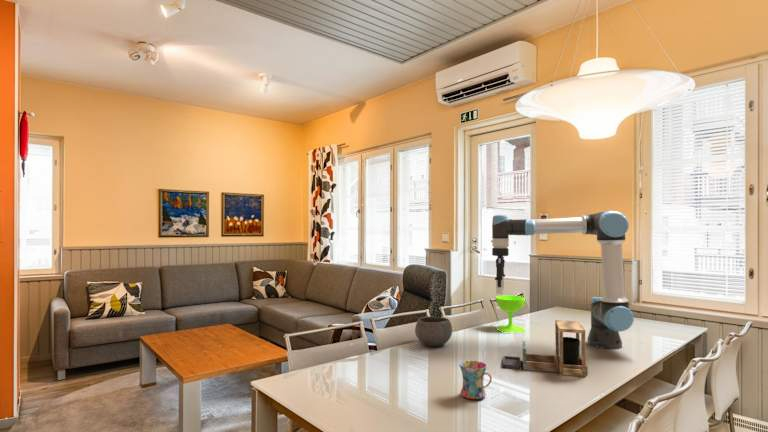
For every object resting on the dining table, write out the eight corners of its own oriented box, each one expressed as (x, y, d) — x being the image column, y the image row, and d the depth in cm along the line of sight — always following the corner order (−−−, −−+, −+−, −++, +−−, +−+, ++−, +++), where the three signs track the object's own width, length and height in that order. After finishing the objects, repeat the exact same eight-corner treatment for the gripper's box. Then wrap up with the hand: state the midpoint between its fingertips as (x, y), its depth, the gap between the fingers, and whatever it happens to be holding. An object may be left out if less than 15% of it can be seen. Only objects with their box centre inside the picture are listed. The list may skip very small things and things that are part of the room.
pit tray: (520, 360, 184) (520, 357, 184) (520, 369, 172) (520, 365, 172) (503, 359, 186) (503, 355, 186) (502, 367, 174) (502, 364, 174)
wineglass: (494, 326, 248) (494, 295, 248) (522, 327, 245) (522, 295, 246) (497, 333, 232) (497, 299, 232) (528, 334, 230) (527, 300, 230)
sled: (582, 365, 177) (582, 345, 177) (587, 374, 165) (587, 353, 166) (522, 360, 184) (522, 341, 184) (523, 368, 172) (523, 348, 172)
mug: (453, 395, 146) (453, 364, 146) (470, 388, 152) (470, 358, 152) (482, 406, 136) (482, 373, 137) (499, 399, 142) (499, 367, 143)
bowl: (410, 347, 204) (410, 320, 204) (421, 338, 220) (421, 313, 221) (447, 351, 197) (447, 324, 197) (455, 342, 214) (455, 316, 214)
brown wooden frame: (579, 364, 179) (578, 321, 180) (585, 377, 164) (585, 330, 164) (555, 362, 182) (555, 320, 182) (559, 374, 166) (559, 328, 167)
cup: (579, 367, 175) (579, 337, 175) (581, 373, 168) (581, 342, 168) (559, 365, 178) (558, 336, 178) (560, 371, 170) (559, 340, 171)
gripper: (494, 246, 217) (493, 288, 217) (490, 248, 194) (490, 295, 193) (509, 246, 215) (509, 289, 214) (507, 248, 191) (507, 296, 191)
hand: (500, 292), depth 204 cm, fingers open, 13 cm apart
